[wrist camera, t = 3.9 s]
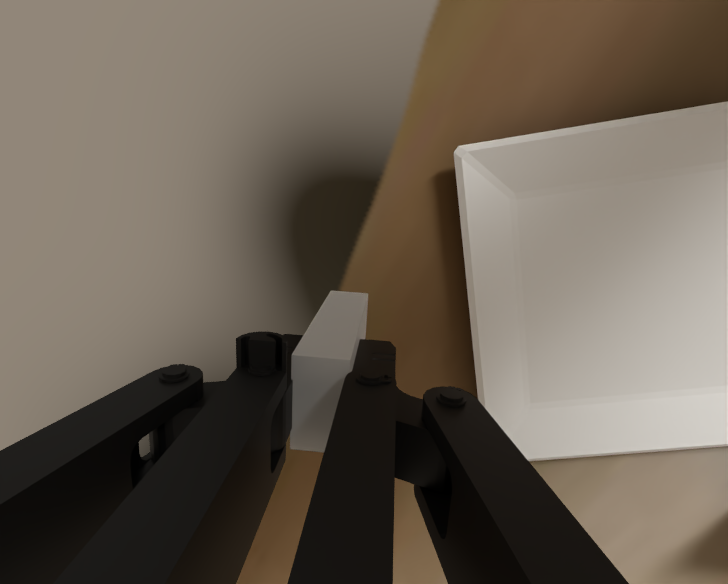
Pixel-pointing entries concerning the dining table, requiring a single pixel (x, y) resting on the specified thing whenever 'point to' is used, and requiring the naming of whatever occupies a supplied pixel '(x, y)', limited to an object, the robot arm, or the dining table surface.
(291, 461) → the dining table surface
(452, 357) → the dining table surface
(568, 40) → the dining table surface
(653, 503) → the dining table surface
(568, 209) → the plate
